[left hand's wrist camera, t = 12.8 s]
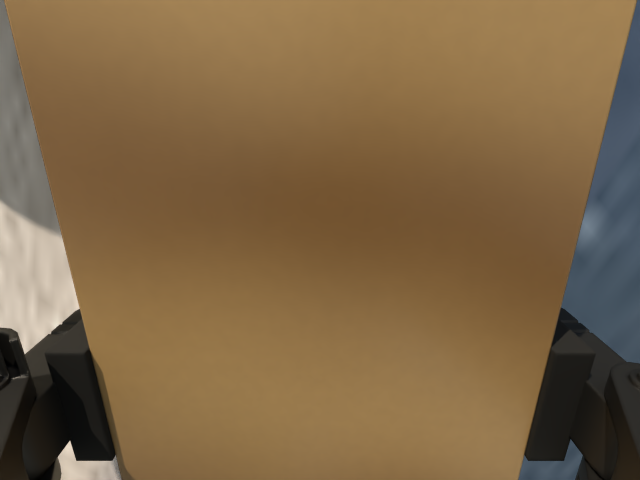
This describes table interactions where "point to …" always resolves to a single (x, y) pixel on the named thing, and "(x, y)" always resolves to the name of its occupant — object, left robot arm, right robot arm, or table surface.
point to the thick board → (320, 221)
